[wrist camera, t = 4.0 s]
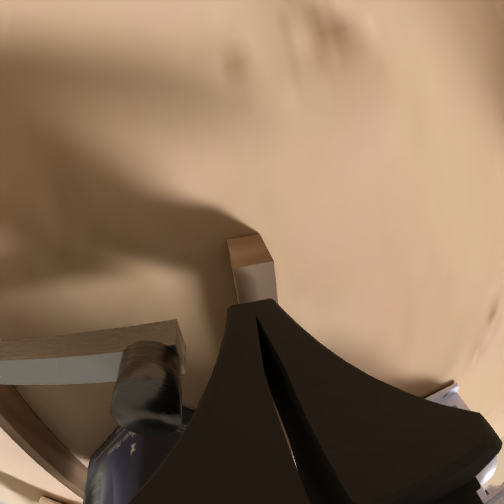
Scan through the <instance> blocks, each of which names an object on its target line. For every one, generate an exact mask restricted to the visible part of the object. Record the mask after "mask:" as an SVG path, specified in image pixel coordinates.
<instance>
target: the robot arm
mask: <svg viewBox="0 0 504 504" xmlns="http://www.w3.org/2000/svg"><path fill="white" fill-rule="evenodd" d="M458 389H459V385H458V384H457V383H454V384H452V385H451V386H449V387H447V388H445V389H443V390H441V391H439V392H437V393H435V394H433V395H430V396H428V397H426V398H424V399H423V398H420V397H418V396H415V395H412V394H409V393H407V392H404V391H402V390H400V389H398V388H395V387H393V386H391V385H389V384H386V383H384V382H382V381H380V380H378V379H376V378H374V377H372V376H370V375H368V374H366V373H364V372H363V371H361V370H359V369H358V368H356V367H354V366H353V365H351V364H349V363H348V362H346V361H345V360H343V359H342V358H340V357H339V356H337V355H336V354H334V353H333V352H332V351H330V350H329V349H328V348H326V347H325V346H324V345H322V344H321V343H320V342H318V341H317V340H316V339H315V338H314V337H312V336H311V335H310V334H309V333H308V332H306V331H305V330H304V329H303V328H302V327H301V326H300V325H298V324H297V323H296V322H295V321H294V320H293V319H292V318H291V317H290V316H289V315H288V314H287V313H286V312H285V311H284V310H283V309H282V308H281V307H280V306H279V305H278V304H277V302H276V301H275V300H273V299H272V298H269V299H264V300H259V301H254V302H249V303H244V304H238V305H233V306H230V307H229V308H228V310H227V323H226V328H225V333H224V338H223V341H222V345H221V348H220V352H219V355H218V358H217V361H216V364H215V367H214V369H213V372H212V375H211V378H210V380H209V383H208V385H207V387H206V390H205V392H204V394H203V396H202V398H201V400H200V402H199V404H198V406H197V408H196V410H195V412H194V414H193V415H192V417H191V419H190V421H189V423H188V424H187V426H186V428H185V430H184V431H183V433H182V434H181V436H180V438H179V439H178V441H177V442H176V444H175V445H174V446H173V448H172V449H171V451H170V452H169V453H168V455H167V456H166V458H165V459H164V460H163V462H162V463H161V464H160V466H159V467H158V469H157V470H156V471H155V472H154V474H153V475H152V476H151V477H150V478H149V479H148V481H147V482H146V483H145V484H144V485H143V486H142V487H141V488H140V490H139V491H138V492H137V493H136V494H135V495H134V496H133V497H132V498H131V499H130V500H129V502H128V503H127V504H504V483H502V484H501V485H489V486H488V487H486V488H485V491H484V489H483V487H482V485H483V484H484V483H486V482H487V481H488V480H489V479H490V478H491V477H492V475H493V474H494V472H495V469H496V466H497V454H498V453H499V451H500V450H501V447H502V441H501V440H500V438H499V437H498V435H497V434H496V433H495V431H494V430H493V428H492V427H491V425H490V424H489V423H488V422H487V421H486V419H485V418H484V417H483V416H482V415H481V414H480V413H478V412H473V411H470V409H469V408H468V407H467V405H466V404H465V403H464V401H463V400H462V399H461V398H460V396H459V395H458V394H457V391H458ZM272 398H273V399H272ZM273 401H274V402H273ZM274 404H275V405H274ZM275 406H276V408H275ZM276 409H277V411H278V414H279V417H280V419H281V422H282V424H283V427H284V429H285V432H286V434H287V437H288V440H289V443H290V445H291V448H292V452H293V455H294V459H295V462H296V465H295V463H294V460H293V457H292V454H291V452H290V449H289V446H288V443H287V440H286V437H285V435H284V432H283V429H282V426H281V423H280V420H279V417H278V414H277V411H276ZM296 466H297V468H296Z"/></svg>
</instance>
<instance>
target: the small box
mask: <svg viewBox="0 0 504 504" xmlns="http://www.w3.org/2000/svg"><path fill="white" fill-rule="evenodd" d="M193 414H194V412H193V411H190V410H187V409H185V408H182V423H181V425H180V427H179V428H178V429H177V430H176V431H174V432H172V433H170V434H167V435H162V436H146V435H140V434H136V433H133V432H131V431H129V430H127V429H125V428H123V427H121V426H120V425H119V427H118V428H117V429H116V430H115V431H114V432H113V433H112V434H111V435H110V436H109V438H108V439H107V440H106V441H105V442H104V443H103V444H102V446H101V447H100V448H99V449H98V450H97V451H96V452H95V453H94V454H93V455H92V457H90V461H89V466H88V472H87V479H86V487H85V494H84V501H83V504H127V503H128V502H129V500H130V499H131V498H132V497H133V496H134V495H135V494H136V493H137V492H138V491H139V490H140V488H141V487H142V486H143V485H144V484H145V483H146V482H147V481H148V479H149V478H150V477H151V476H152V475H153V474H154V472H155V471H156V470H157V469H158V467H159V466H160V464H161V463H162V462H163V460H164V459H165V458H166V456H167V455H168V453H169V452H170V451H171V449H172V448H173V446H174V445H175V444H176V442H177V441H178V439H179V438H180V436H181V434H182V433H183V431H184V430H185V428H186V426H187V424H188V423H189V421H190V419H191V417H192V415H193Z"/></svg>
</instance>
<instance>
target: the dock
mask: <svg viewBox="0 0 504 504" xmlns="http://www.w3.org/2000/svg"><path fill="white" fill-rule="evenodd" d="M227 245H228V250H229V256H230V262H231V267H232V273H233V279H234V284H235V290H236V295H237V301H238V304H244V303H249V302H254V301H259V300H264V299H269V298H272V299H273V300H275V301H276V302H277V304H278V299H277V289H276V279H275V270H274V261H273V259H272V257H271V255H270V253H269V251H268V249H267V247H266V245H265V243H264V241H263V239H262V238H261V236H260V234H254V235H248V236H243V237H237V238H232V239H227ZM272 399H273V398H272ZM273 402H274V401H273ZM274 405H275V404H274ZM275 408H276V406H275ZM276 411H277V409H276ZM277 414H278V411H277ZM278 417H279V414H278ZM279 420H280V423H281V426H282V429H283V432H284V435H285V437H286V440H287V443H288V446H289V449H290V452H291V445H290V443H289V440H288V437H287V434H286V432H285V429H284V427H283V424H282V422H281V419H280V417H279ZM0 427H1V428H2V429H3V430H4V431H5V432H6V433H7V434H8V435H9V436H10V437H11V438H12V439H13V440H14V441H15V442H16V443H17V444H18V445H19V446H20V447H21V448H22V449H23V450H24V451H25V452H26V453H27V454H28V455H29V456H30V457H31V458H32V459H33V460H35V461H36V462H37V463H38V464H39V465H40V466H41V467H43V468H44V469H45V470H46V471H47V472H48V473H50V474H51V475H52V476H53V477H54V478H56V479H57V480H58V481H59V482H61V483H62V484H63V485H64V486H66V487H67V488H68V489H70V490H71V491H72V492H74V493H75V494H76V495H78V496H79V497H81V498H82V499H83V500H84V494H85V487H86V479H87V472H88V469H87V468H86V467H85V466H84V465H83V464H82V463H81V462H80V461H79V460H78V459H77V458H76V457H75V456H73V455H72V454H71V453H70V452H69V451H68V450H67V449H66V448H65V447H64V446H63V445H62V443H61V442H60V441H59V440H58V439H57V438H56V437H55V436H54V435H53V434H52V433H51V432H50V431H49V430H48V428H47V427H46V426H45V425H44V424H43V423H42V422H41V420H40V419H39V418H38V417H37V416H36V415H35V413H34V412H33V411H32V410H31V409H30V407H29V406H28V405H27V404H26V402H25V401H24V400H23V399H22V397H21V396H20V395H19V393H18V392H17V391H16V389H15V388H14V387H13V385H5V384H0Z"/></svg>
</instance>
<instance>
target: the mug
mask: <svg viewBox="0 0 504 504" xmlns="http://www.w3.org/2000/svg"><path fill="white" fill-rule="evenodd" d="M38 504H63V503H60V502H57V501H54V500H52V499H49V498H46V497H44V496H42V497H41V498H40V500H39V503H38Z"/></svg>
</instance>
